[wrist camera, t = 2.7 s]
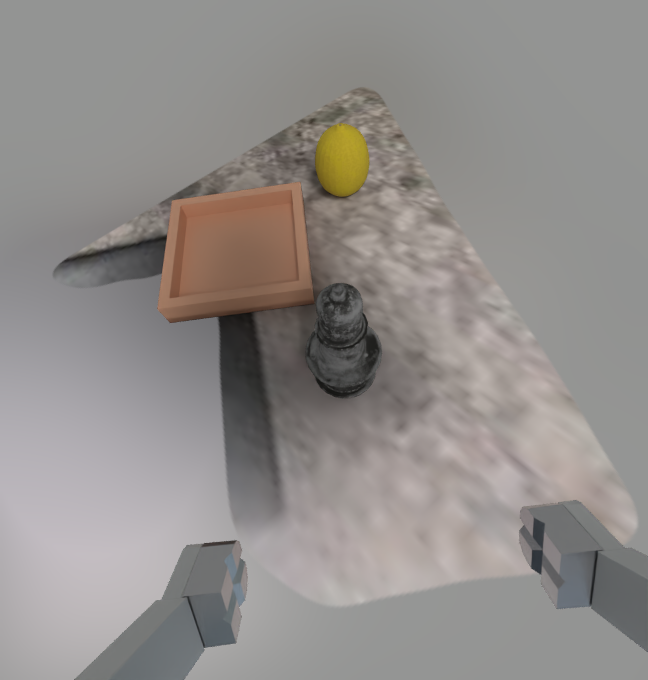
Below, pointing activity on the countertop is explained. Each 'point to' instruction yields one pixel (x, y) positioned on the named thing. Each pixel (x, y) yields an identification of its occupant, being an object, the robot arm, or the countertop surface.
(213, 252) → the tray
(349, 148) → the lemon
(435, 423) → the countertop surface
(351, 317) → the dark grey chess piece
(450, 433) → the countertop surface
